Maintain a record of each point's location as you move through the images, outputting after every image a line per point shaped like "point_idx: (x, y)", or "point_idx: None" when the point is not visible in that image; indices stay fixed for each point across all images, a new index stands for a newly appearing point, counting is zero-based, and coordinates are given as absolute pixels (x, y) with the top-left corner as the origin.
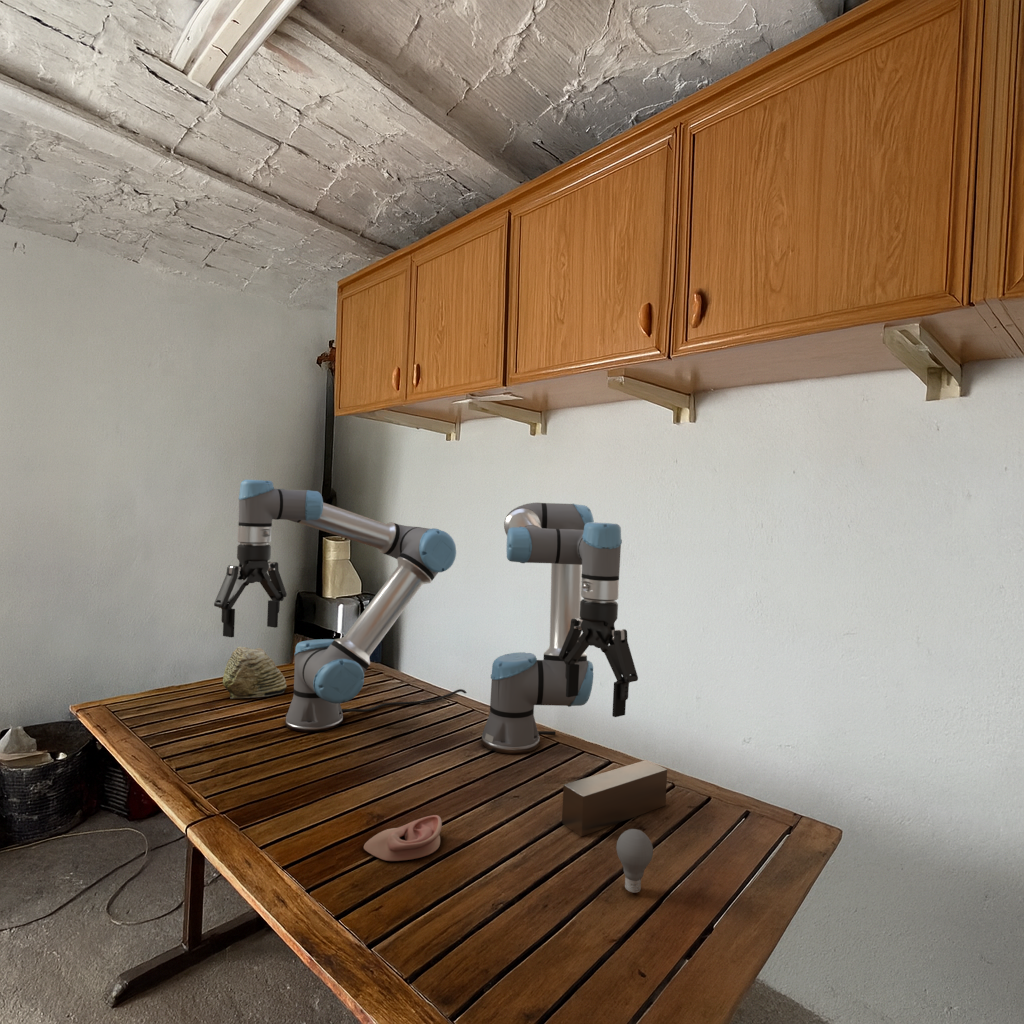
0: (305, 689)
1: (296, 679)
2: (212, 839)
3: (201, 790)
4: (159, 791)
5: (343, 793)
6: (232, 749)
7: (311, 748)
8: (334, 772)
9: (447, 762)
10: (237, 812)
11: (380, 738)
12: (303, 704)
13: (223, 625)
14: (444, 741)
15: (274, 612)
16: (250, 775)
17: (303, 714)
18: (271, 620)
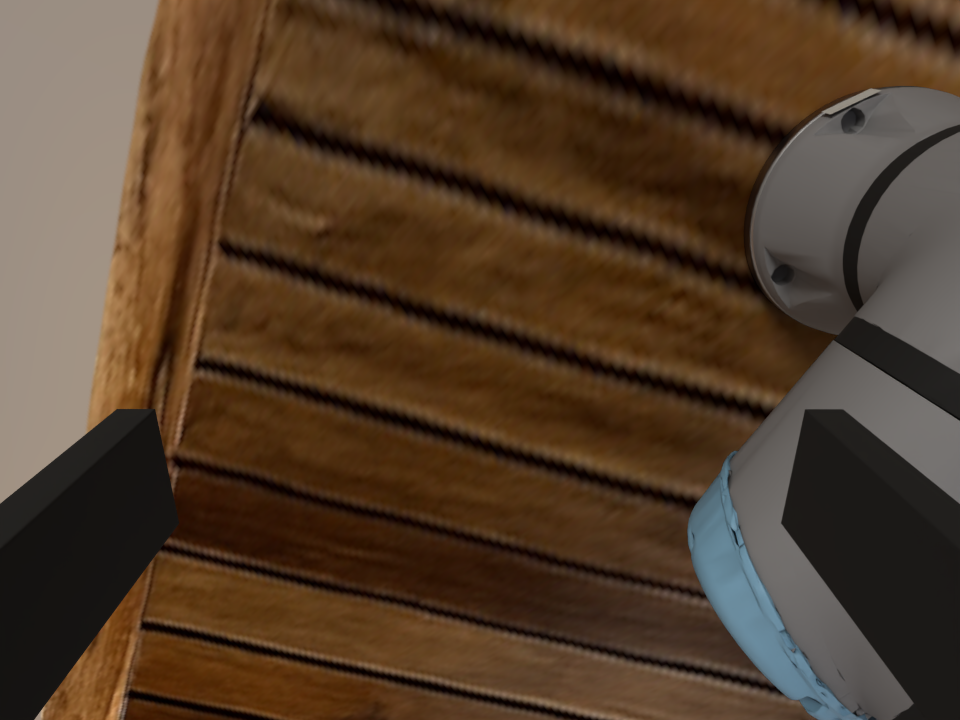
0: (867, 275)
1: (919, 210)
2: None
3: (216, 318)
4: (130, 214)
5: (421, 619)
6: (488, 141)
7: (626, 377)
8: (508, 538)
9: (698, 717)
10: (202, 488)
11: None
12: (821, 254)
13: (35, 480)
14: None
15: (897, 645)
16: (367, 362)
17: (787, 257)
18: (836, 515)
